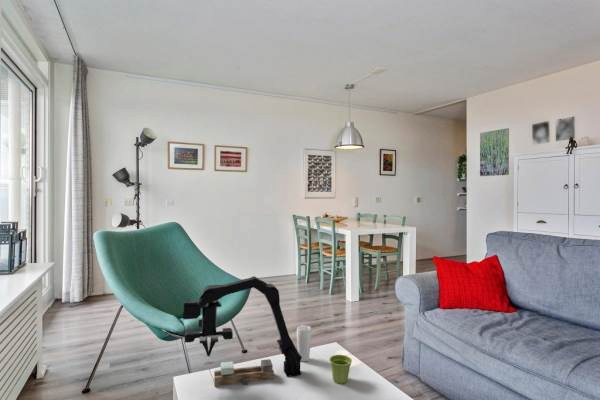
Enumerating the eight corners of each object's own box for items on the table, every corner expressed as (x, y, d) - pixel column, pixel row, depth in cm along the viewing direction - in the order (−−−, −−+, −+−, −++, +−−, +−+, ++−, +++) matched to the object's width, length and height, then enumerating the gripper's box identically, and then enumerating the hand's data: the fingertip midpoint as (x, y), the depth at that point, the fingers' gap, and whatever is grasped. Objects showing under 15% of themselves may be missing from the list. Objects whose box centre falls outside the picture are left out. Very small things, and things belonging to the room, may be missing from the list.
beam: (270, 371, 156) (270, 357, 156) (274, 381, 147) (274, 366, 147) (214, 377, 150) (214, 363, 150) (214, 388, 141) (214, 373, 141)
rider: (232, 371, 150) (232, 361, 150) (233, 378, 144) (233, 367, 144) (220, 373, 148) (220, 362, 148) (221, 379, 143) (221, 368, 143)
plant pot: (354, 377, 150) (354, 357, 150) (347, 388, 142) (348, 366, 142) (333, 373, 154) (333, 353, 154) (326, 383, 146) (326, 361, 146)
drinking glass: (309, 363, 163) (309, 331, 163) (295, 362, 164) (295, 329, 164) (311, 357, 170) (312, 325, 170) (298, 355, 171) (298, 324, 171)
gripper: (231, 310, 155) (230, 346, 155) (186, 312, 150) (185, 349, 150) (233, 318, 144) (232, 357, 144) (184, 321, 139) (184, 361, 139)
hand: (208, 355), depth 145 cm, fingers closed
